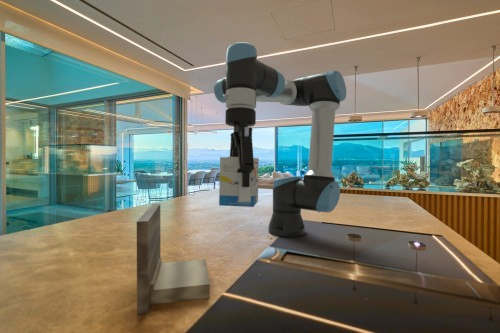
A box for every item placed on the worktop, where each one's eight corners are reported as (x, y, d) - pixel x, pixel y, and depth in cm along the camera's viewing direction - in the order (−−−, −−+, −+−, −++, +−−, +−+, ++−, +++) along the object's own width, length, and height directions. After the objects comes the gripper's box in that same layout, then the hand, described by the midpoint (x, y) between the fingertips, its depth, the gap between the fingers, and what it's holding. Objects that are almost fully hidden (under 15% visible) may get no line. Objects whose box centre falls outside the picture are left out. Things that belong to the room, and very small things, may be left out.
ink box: (253, 207, 58) (254, 156, 57) (218, 206, 59) (218, 156, 59) (258, 201, 66) (259, 157, 66) (227, 200, 68) (228, 157, 67)
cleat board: (205, 265, 71) (205, 202, 70) (210, 305, 51) (210, 218, 51) (152, 270, 68) (152, 203, 67) (137, 314, 48) (136, 221, 48)
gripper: (219, 116, 73) (218, 192, 73) (234, 96, 50) (233, 206, 51) (244, 118, 74) (243, 192, 75) (270, 99, 52) (268, 205, 52)
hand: (239, 197), depth 63 cm, fingers closed on ink box, 11 cm apart
